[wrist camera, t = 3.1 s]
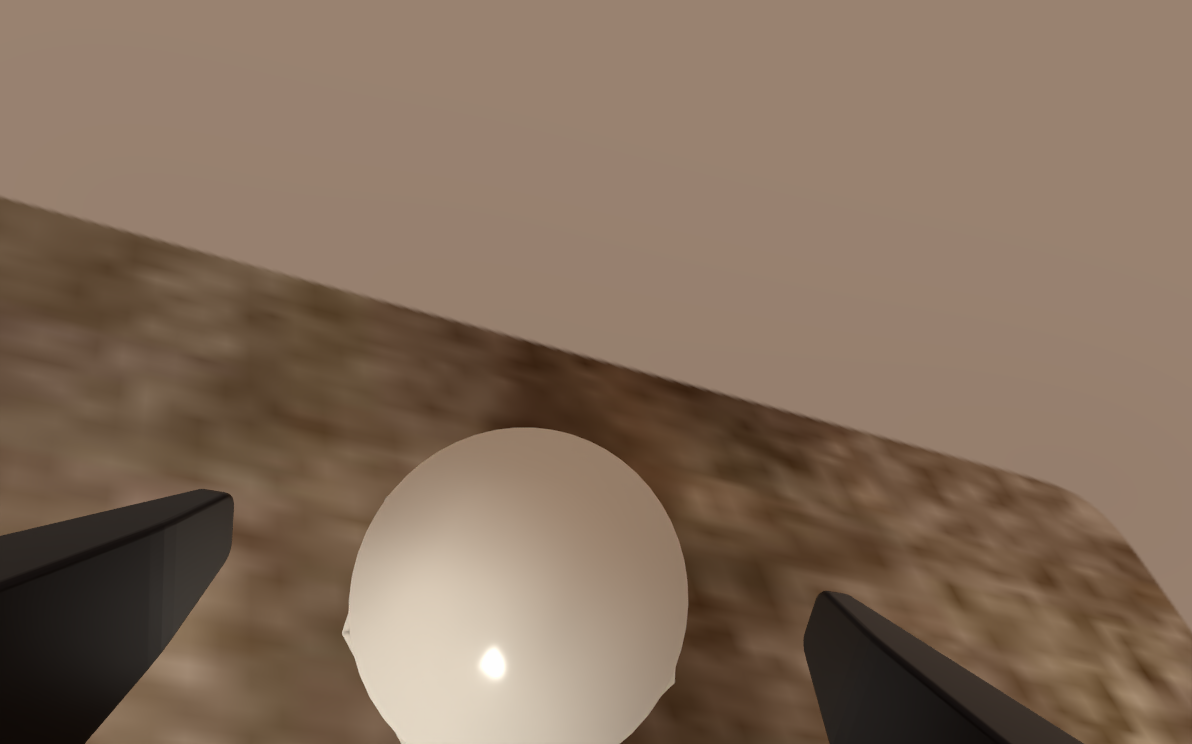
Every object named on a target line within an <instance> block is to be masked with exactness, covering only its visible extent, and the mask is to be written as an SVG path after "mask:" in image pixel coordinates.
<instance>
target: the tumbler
mask: <svg viewBox="0 0 1192 744" xmlns="http://www.w3.org/2000/svg"><path fill="white" fill-rule="evenodd" d="M687 613H688V582H687V575H686V568H685V561H684V558H683V554H682V550H681V547H680V543H679V540H678V537H677V535H676V532H675V530H674V527H673V525H672V522H671V520H670V518H669V517H668V515H667V513H666V511H665V509H664V508H663V506H662V504H661V502H660V501H659V500H658V498H657V497H656V495H655V494H654V493H653V491H652V490H651V488H650V487H649V486H648V485H647V484H646V483H645V482H644V481H643V479H642V478H641V477H640V476H639V475H638V474H637V473H636V472H635V471H634V470H633V469H631V468H630V467H629V466H628V465H627V464H626V463H625V462H623V461H622V460H621V459H619V458H618V457H616V456H615V455H613V454H612V453H610V452H609V451H607V450H606V449H604V448H602V447H600V446H598V445H596V444H594V443H592V442H590V441H588V440H586V439H583V438H580V437H577V436H575V435H572V434H568V433H564V432H560V431H556V430H550V429H542V428H507V429H499V430H493V431H489V432H485V433H481V434H477V435H474V436H471V437H468V438H466V439H463V440H460V441H458V442H456V443H454V444H452V445H450V446H448V447H446V448H444V449H442V450H440V451H438V452H437V453H435V454H434V455H433V456H431V457H430V458H428V459H427V460H425V461H424V462H422V463H421V464H420V465H419V466H417V467H416V468H415V469H414V470H413V471H412V472H410V473H409V474H408V475H407V476H406V477H405V478H404V479H403V480H402V481H401V482H400V483H399V484H398V485H397V487H396V488H395V489H394V490H393V491H392V492H391V493H390V495H389V496H387V497H386V498H385V501H384V503H383V504H382V506H381V507H380V509H379V510H378V512H377V513H376V515H375V517H374V519H373V521H372V522H371V524H370V526H369V528H368V530H367V532H366V534H365V537H364V539H363V542H362V544H361V547H360V549H359V552H358V555H357V559H356V563H355V566H354V570H353V574H352V580H351V588H350V596H349V613H348V616H347V619H346V622H345V625H344V628H343V631H342V635H343V637H344V639H345V640H346V642H347V644H348V646H349V648H350V650H351V651H352V653H353V655H354V657H355V660H356V664H357V667H358V671H359V674H360V676H361V679H362V681H363V683H364V685H365V688H366V690H367V692H368V694H369V697H370V698H371V700H372V701H373V703H374V704H375V706H376V708H377V709H378V711H379V712H380V714H381V715H382V717H383V719H384V720H385V721H386V722H387V723H388V724H389V725H390V727H391V728H392V729H393V730H394V731H395V733H396V735H397V737H398V738H399V740H400V742H401V744H620V743H621V742H622V741H624V740H625V739H626V738H627V737H628V736H630V735H631V734H632V733H633V732H634V731H635V729H636V728H637V727H638V726H639V725H640V724H641V723H642V722H643V720H644V719H645V718H646V717H647V716H648V715H649V713H650V712H651V710H652V709H653V708H654V706H655V705H656V703H657V702H658V700H659V699H660V697H661V696H662V695H663V694H664V693H665V692H666V691H667V690H668V689H669V688H670V687H671V686H672V685H673V684H674V683H675V666H676V664H677V661H678V658H679V655H680V652H681V649H682V644H683V640H684V635H685V631H686V624H687Z"/></svg>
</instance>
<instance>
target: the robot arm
mask: <svg viewBox="0 0 1192 744" xmlns="http://www.w3.org/2000/svg"><path fill="white" fill-rule="evenodd" d="M233 513H234V501H233V498H232V496H231V495H230V494H228V493H225V492H219V491H213V490H207V489H198V490H194V491H190V492H186V493H181V494H177V495H173V496H168V497H164V498H160V499H156V500H151V501H147V502H143V503H139V504H134V505H130V506H126V507H122V508H117V509H113V510H109V511H105V512H100V513H96V514H92V515H88V516H83V517H79V518H75V519H71V520H66V521H62V522H58V523H54V524H49V525H45V526H41V527H37V528H32V529H28V530H24V531H20V532H15V533H11V534H7V535H3V536H0V744H85V743H86V741H87V740H88V739H89V738H90V737H91V736H92V734H93V733H94V732H95V731H96V730H97V729H98V727H99V726H100V725H101V724H102V723H103V722H104V720H105V719H106V718H107V717H108V716H109V714H110V713H111V712H112V711H113V710H114V709H115V707H116V706H117V705H118V704H119V703H120V702H121V700H122V699H123V698H124V697H125V696H126V694H127V693H128V692H129V691H130V690H131V689H132V687H133V686H134V685H135V684H136V683H137V682H138V680H139V679H140V678H141V677H142V676H143V675H144V673H145V672H146V671H147V670H148V669H149V667H150V666H151V665H152V664H153V662H154V661H155V660H156V659H157V658H158V656H159V655H160V654H161V653H162V651H163V650H164V649H165V647H166V646H167V645H168V643H169V642H170V640H171V639H172V638H173V636H174V635H175V633H176V632H177V631H178V629H179V628H180V626H181V625H182V623H183V622H184V620H185V619H186V618H187V616H188V615H189V613H190V612H191V610H192V609H193V608H194V606H195V605H196V603H197V602H198V600H199V599H200V597H201V596H202V595H203V593H204V592H205V590H206V589H207V587H208V586H209V585H210V583H211V582H212V580H213V579H214V577H215V576H216V574H217V573H218V572H219V570H220V569H221V567H222V566H223V564H224V563H225V561H226V559H227V557H228V555H229V553H230V549H231V544H232V530H233ZM804 652H805V656H806V660H807V663H808V667H809V671H810V674H811V678H812V682H813V685H814V689H815V692H816V696H817V700H818V703H819V707H820V711H821V714H822V718H823V722H824V725H825V729H826V732H827V736H828V739H829V742H830V744H1083V743H1082V742H1080V741H1079V740H1077V739H1075V738H1074V737H1072V736H1071V735H1069V734H1068V733H1066V732H1064V731H1063V730H1061V729H1060V728H1058V727H1056V726H1055V725H1053V724H1052V723H1050V722H1049V721H1047V720H1045V719H1044V718H1042V717H1041V716H1039V715H1038V714H1036V713H1034V712H1033V711H1031V710H1030V709H1028V708H1026V707H1025V706H1023V705H1022V704H1020V703H1019V702H1017V701H1015V700H1014V699H1012V698H1011V697H1009V696H1008V695H1006V694H1004V693H1003V692H1001V691H1000V690H998V689H996V688H995V687H993V686H992V685H990V684H989V683H987V682H985V681H984V680H982V679H981V678H979V677H978V676H976V675H974V674H973V673H971V672H970V671H968V670H966V669H965V668H963V667H962V666H960V665H959V664H957V663H955V662H954V661H952V660H951V659H949V658H948V657H946V656H944V655H943V654H941V653H940V652H938V651H936V650H935V649H933V648H932V647H930V646H929V645H927V644H925V643H924V642H922V641H921V640H919V639H917V638H916V637H914V636H913V635H911V634H910V633H908V632H906V631H905V630H903V629H902V628H900V627H899V626H897V625H895V624H894V623H892V622H891V621H889V620H887V619H886V618H884V617H883V616H881V615H880V614H878V613H876V612H875V611H873V610H872V609H870V608H869V607H867V606H865V605H864V604H862V603H861V602H859V601H857V600H856V599H854V598H853V597H851V596H849V595H847V594H843V593H837V592H831V591H823V592H821V593H820V594H819V595H818V596H817V598H816V601H815V604H814V607H813V610H812V613H811V616H810V619H809V622H808V625H807V628H806V631H805V634H804Z"/></svg>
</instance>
